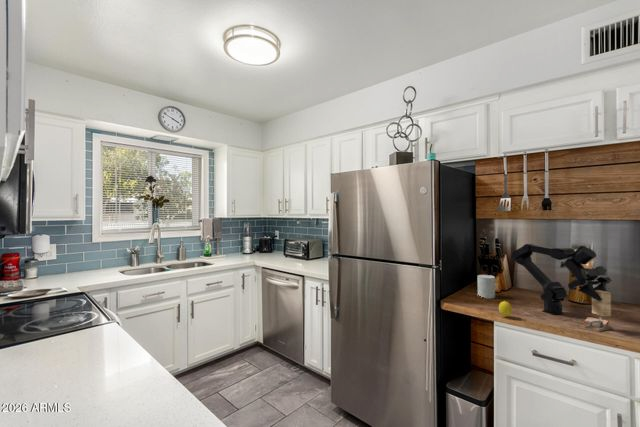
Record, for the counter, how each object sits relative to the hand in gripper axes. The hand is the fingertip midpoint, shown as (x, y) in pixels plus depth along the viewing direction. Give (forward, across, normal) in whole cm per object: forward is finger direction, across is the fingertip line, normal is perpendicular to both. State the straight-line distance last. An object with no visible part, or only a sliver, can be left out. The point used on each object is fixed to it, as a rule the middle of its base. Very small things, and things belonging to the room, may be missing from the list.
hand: (604, 300), depth 130 cm
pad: (+3, +8, +15) cm, 17 cm away
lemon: (-8, -28, +26) cm, 39 cm away
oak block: (+4, 0, +6) cm, 7 cm away
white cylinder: (-31, -10, +50) cm, 60 cm away
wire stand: (+8, 0, +11) cm, 13 cm away
